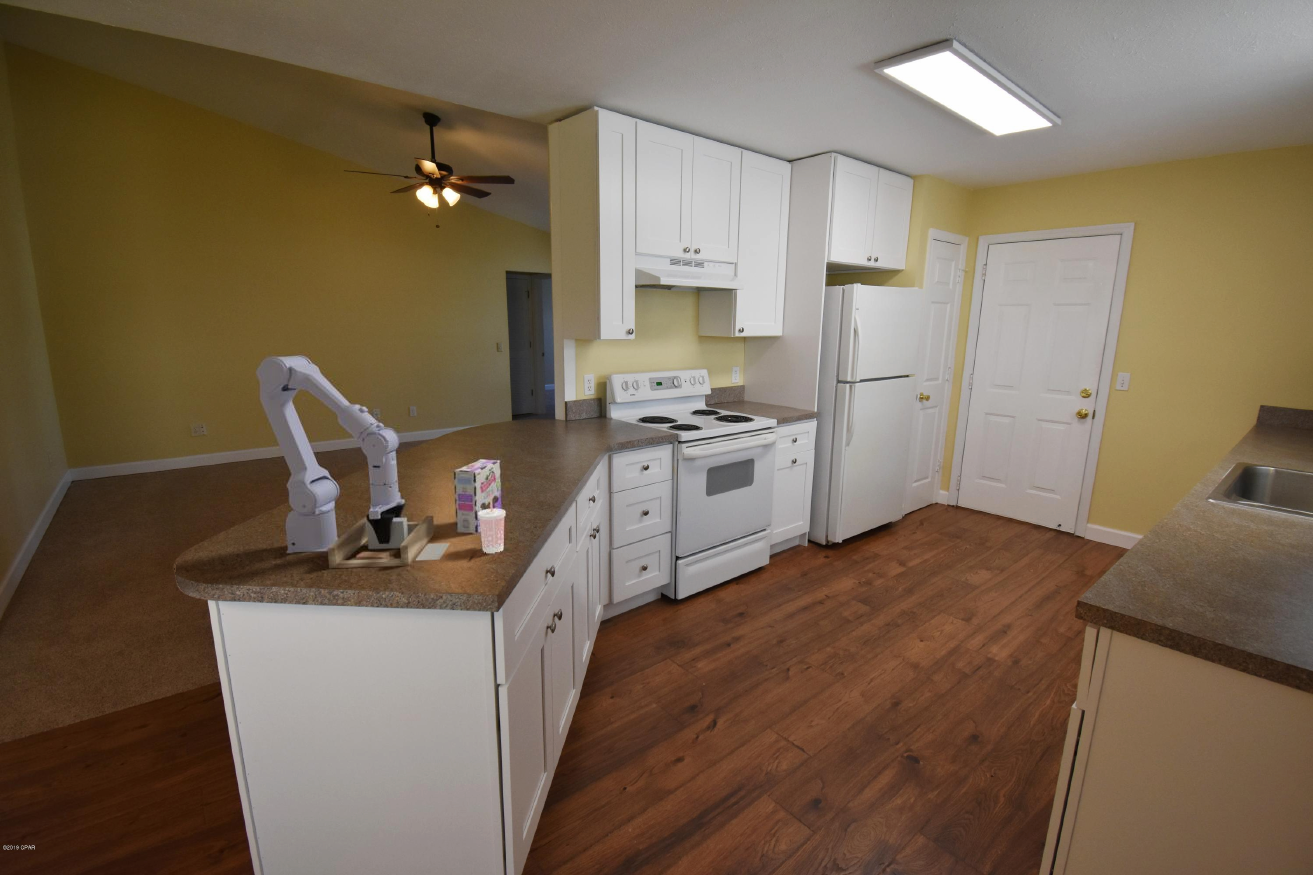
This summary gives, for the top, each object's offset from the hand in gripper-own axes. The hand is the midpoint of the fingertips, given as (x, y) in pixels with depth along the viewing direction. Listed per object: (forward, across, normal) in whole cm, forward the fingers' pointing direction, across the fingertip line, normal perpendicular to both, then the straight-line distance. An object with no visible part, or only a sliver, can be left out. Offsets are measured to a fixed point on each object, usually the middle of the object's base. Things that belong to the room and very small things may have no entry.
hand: (388, 539), depth 131 cm
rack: (+2, -2, 0) cm, 3 cm away
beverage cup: (+2, -3, -24) cm, 24 cm away
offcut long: (+3, -8, +1) cm, 8 cm away
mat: (+2, -4, -11) cm, 12 cm away
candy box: (+2, +14, -18) cm, 23 cm away
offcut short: (+2, -8, +1) cm, 8 cm away
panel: (+2, 0, 0) cm, 2 cm away
